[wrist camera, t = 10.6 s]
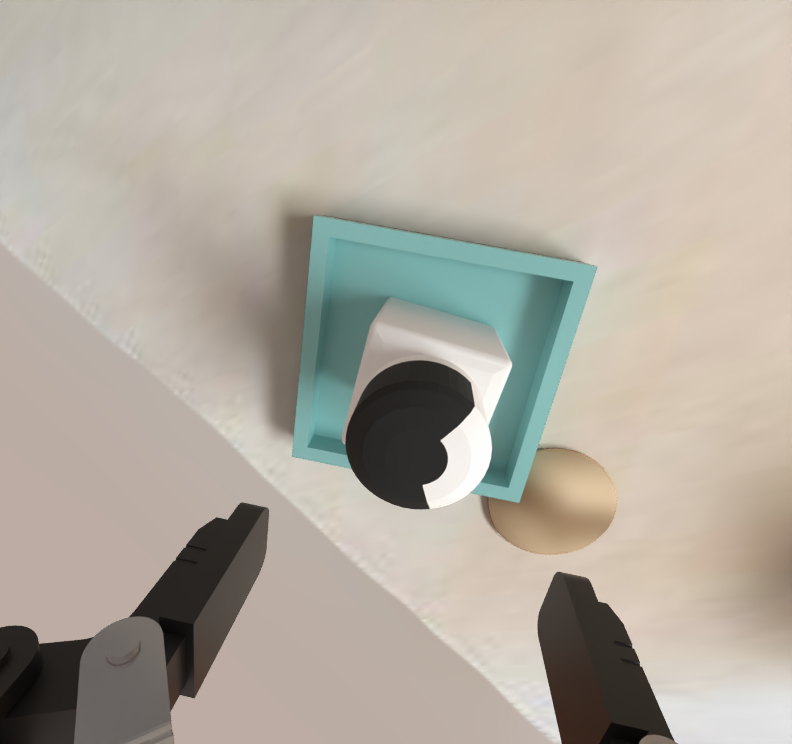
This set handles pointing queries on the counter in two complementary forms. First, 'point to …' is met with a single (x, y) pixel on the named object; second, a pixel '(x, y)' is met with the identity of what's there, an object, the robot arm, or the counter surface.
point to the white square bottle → (424, 405)
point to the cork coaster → (558, 504)
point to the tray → (448, 292)
